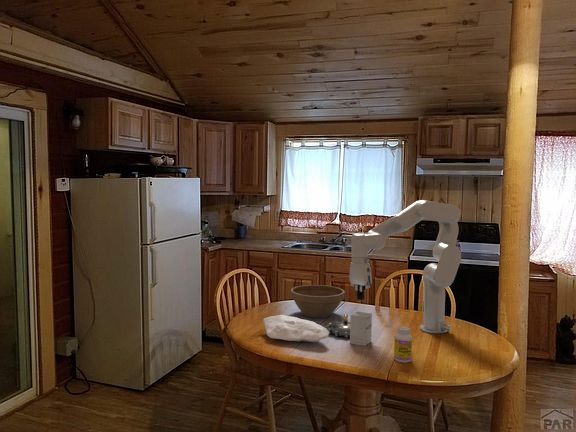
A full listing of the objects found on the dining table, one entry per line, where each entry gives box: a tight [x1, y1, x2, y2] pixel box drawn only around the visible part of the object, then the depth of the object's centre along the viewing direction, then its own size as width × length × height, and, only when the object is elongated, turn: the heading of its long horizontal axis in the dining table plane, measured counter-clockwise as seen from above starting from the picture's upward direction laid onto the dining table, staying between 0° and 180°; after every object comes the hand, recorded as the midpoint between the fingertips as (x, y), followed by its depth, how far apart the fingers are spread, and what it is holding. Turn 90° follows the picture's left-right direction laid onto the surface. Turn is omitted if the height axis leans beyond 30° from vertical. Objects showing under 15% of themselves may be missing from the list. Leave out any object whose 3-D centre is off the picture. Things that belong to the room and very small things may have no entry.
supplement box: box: [349, 311, 373, 347], centre depth 205 cm, size 7×7×13 cm
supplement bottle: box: [393, 325, 413, 364], centre depth 185 cm, size 7×7×13 cm
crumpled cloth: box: [262, 314, 329, 343], centre depth 211 cm, size 24×35×9 cm
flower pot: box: [290, 284, 346, 319], centre depth 248 cm, size 28×28×13 cm
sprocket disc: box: [325, 313, 350, 338], centre depth 218 cm, size 18×18×6 cm
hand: (360, 299), depth 219 cm, fingers closed
